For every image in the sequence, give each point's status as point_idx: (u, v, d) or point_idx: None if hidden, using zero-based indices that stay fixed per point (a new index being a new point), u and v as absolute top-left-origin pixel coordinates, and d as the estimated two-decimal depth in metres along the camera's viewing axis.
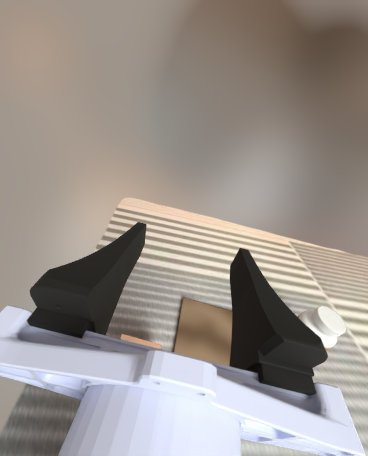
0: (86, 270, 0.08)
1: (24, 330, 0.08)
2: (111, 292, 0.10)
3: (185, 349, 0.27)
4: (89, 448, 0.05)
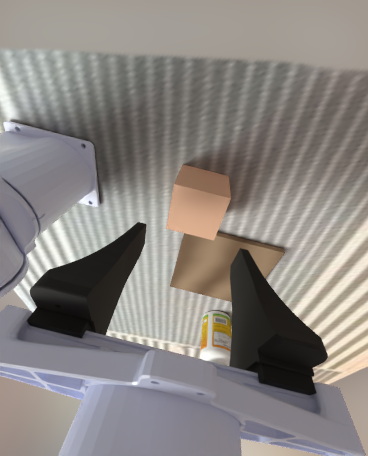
0: (86, 270, 0.08)
1: (24, 330, 0.08)
2: (111, 292, 0.10)
3: (219, 245, 0.25)
4: (89, 448, 0.05)
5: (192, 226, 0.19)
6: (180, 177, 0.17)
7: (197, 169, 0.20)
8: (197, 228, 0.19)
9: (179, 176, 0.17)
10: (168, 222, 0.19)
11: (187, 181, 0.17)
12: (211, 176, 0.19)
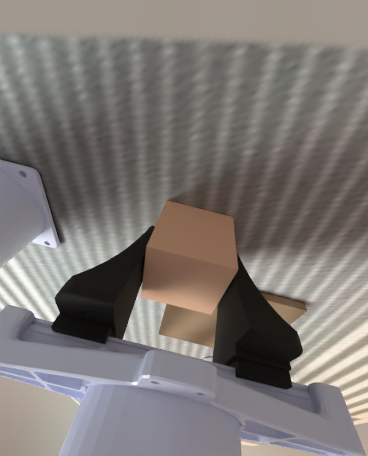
0: (108, 276, 0.08)
1: (24, 330, 0.08)
2: (130, 297, 0.10)
3: None
4: (89, 448, 0.05)
5: (178, 297, 0.12)
6: (158, 229, 0.11)
7: (188, 209, 0.13)
8: (186, 300, 0.12)
9: (157, 227, 0.11)
10: (143, 290, 0.13)
11: (169, 236, 0.11)
12: (208, 221, 0.13)
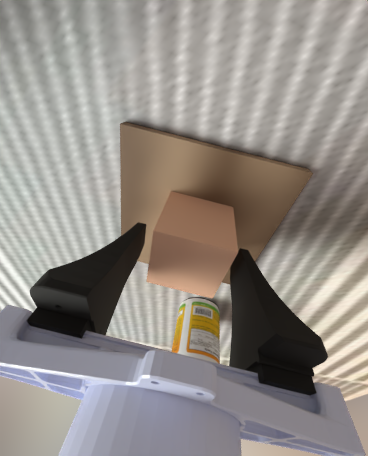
0: (86, 270, 0.08)
1: (24, 330, 0.08)
2: (111, 292, 0.10)
3: (187, 164, 0.13)
4: (89, 449, 0.05)
5: (182, 281, 0.13)
6: (164, 216, 0.12)
7: (190, 199, 0.14)
8: (189, 284, 0.13)
9: (163, 214, 0.12)
10: (149, 275, 0.13)
11: (174, 222, 0.12)
12: (210, 210, 0.14)
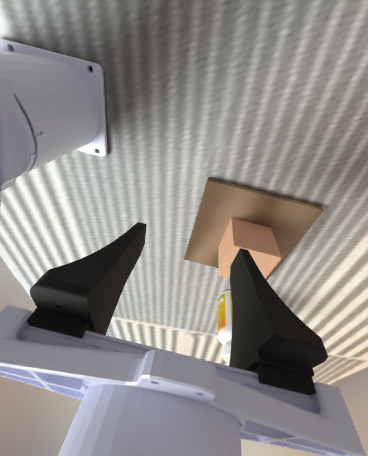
0: (85, 270, 0.08)
1: (24, 330, 0.08)
2: (111, 292, 0.10)
3: (245, 202, 0.21)
4: (89, 448, 0.05)
5: None
6: (235, 236, 0.20)
7: (245, 223, 0.23)
8: None
9: (234, 234, 0.20)
10: (221, 271, 0.22)
11: (242, 240, 0.20)
12: (258, 231, 0.22)
